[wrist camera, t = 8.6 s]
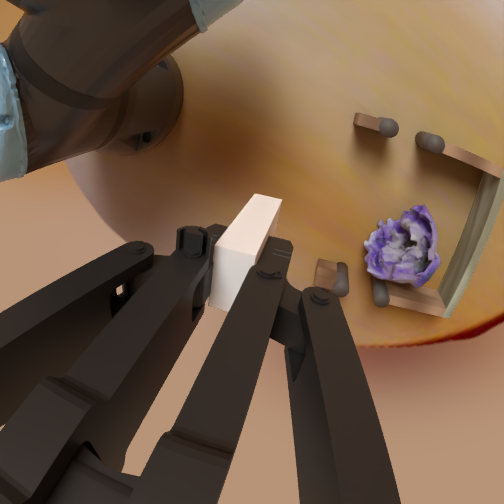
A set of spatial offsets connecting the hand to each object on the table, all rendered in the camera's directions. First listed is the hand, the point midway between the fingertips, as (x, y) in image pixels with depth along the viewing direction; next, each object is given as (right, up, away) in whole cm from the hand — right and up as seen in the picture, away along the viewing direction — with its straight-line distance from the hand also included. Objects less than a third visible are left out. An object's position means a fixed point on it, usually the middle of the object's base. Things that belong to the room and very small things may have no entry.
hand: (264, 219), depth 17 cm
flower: (+18, 0, +17) cm, 25 cm away
